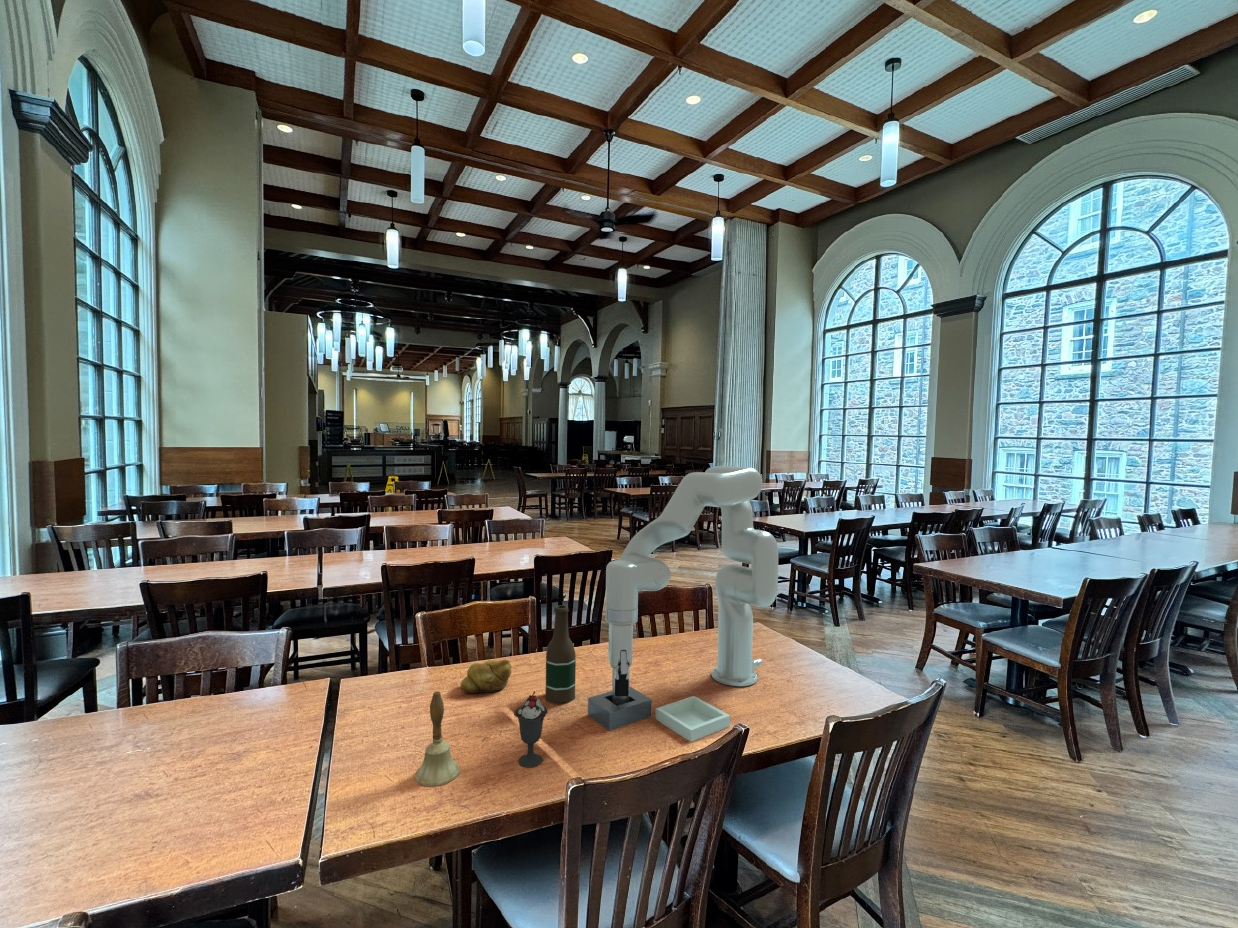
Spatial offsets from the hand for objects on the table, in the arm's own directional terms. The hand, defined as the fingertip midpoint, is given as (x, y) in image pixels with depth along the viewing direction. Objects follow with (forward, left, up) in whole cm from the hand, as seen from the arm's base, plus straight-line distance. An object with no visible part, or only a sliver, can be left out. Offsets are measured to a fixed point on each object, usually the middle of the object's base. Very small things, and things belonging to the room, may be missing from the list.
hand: (620, 690), depth 130 cm
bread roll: (+20, -34, -7) cm, 40 cm away
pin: (0, 0, -5) cm, 5 cm away
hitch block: (0, 0, -7) cm, 7 cm away
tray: (-12, +12, -7) cm, 18 cm away
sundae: (+25, +4, -7) cm, 27 cm away
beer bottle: (+7, -16, -7) cm, 19 cm away
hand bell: (+42, -2, -7) cm, 43 cm away
